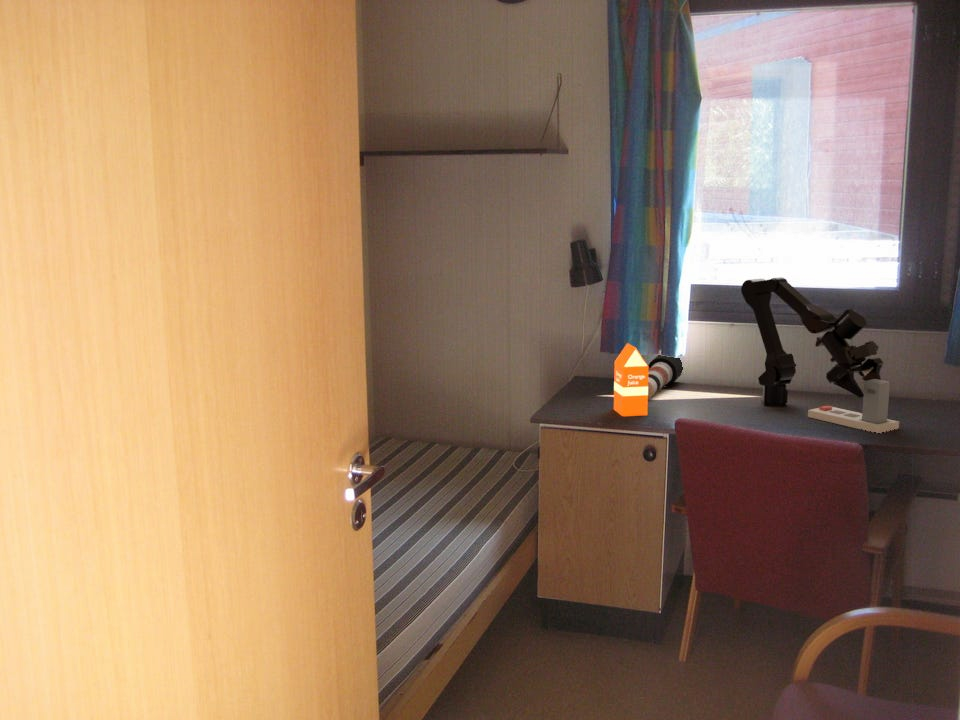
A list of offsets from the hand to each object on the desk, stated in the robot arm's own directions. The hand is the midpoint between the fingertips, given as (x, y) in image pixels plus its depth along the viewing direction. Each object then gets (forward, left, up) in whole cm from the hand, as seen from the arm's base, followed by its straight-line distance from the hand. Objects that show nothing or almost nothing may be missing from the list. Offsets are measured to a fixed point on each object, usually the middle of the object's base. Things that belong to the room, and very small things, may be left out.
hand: (872, 394), depth 251 cm
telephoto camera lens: (-57, +38, -9) cm, 70 cm away
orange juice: (-65, +8, -9) cm, 66 cm away
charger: (+1, -1, -9) cm, 9 cm away
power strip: (-4, +4, -9) cm, 11 cm away
